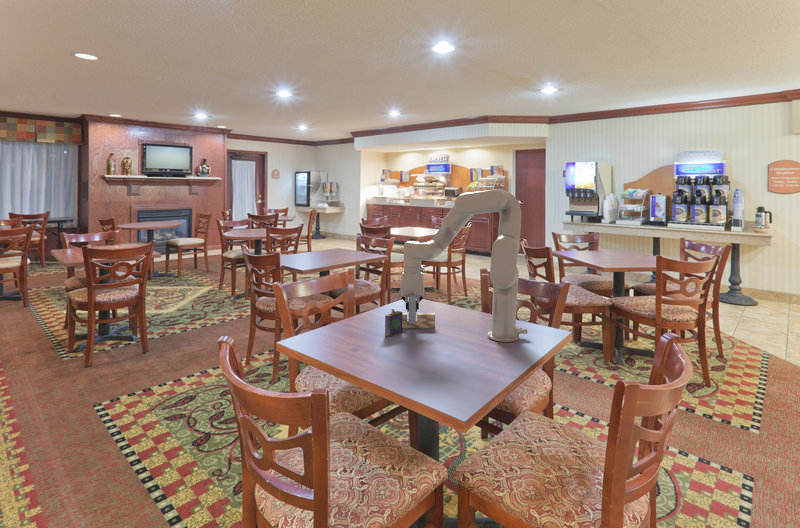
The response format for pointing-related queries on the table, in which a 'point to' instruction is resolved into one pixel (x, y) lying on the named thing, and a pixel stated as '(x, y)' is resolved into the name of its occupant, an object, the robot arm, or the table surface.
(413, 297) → the flat gray plate
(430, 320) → the rail
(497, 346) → the table surface
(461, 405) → the table surface
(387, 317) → the flask
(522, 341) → the table surface
